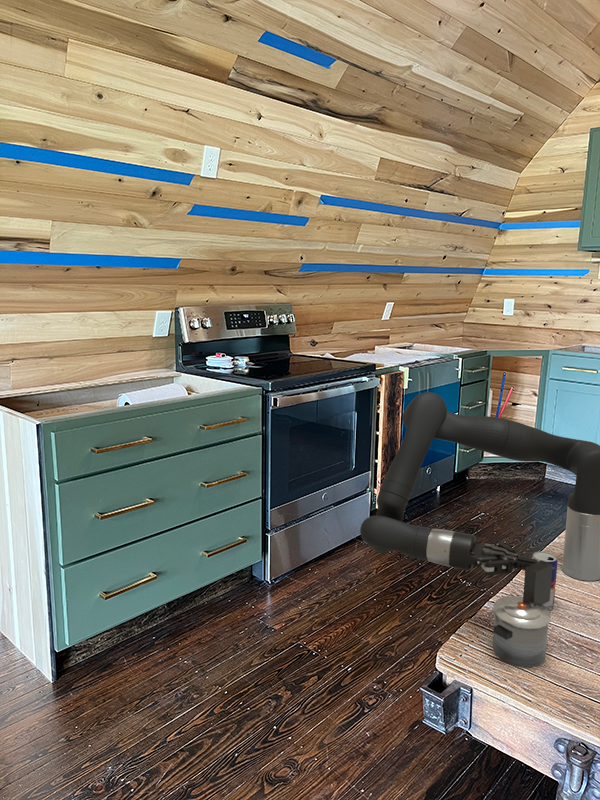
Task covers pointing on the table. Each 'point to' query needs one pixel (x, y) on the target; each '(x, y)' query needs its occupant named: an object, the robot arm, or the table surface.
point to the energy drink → (552, 560)
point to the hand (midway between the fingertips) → (537, 566)
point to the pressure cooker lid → (528, 600)
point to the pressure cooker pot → (519, 644)
